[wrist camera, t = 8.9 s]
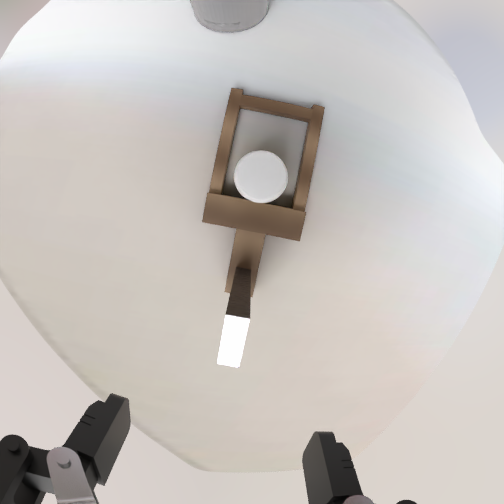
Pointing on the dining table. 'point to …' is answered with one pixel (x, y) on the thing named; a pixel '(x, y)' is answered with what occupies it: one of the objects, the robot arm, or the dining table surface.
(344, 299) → the dining table surface
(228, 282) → the strip frame
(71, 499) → the robot arm
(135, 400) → the dining table surface
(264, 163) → the supplement bottle
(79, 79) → the dining table surface
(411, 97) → the dining table surface
